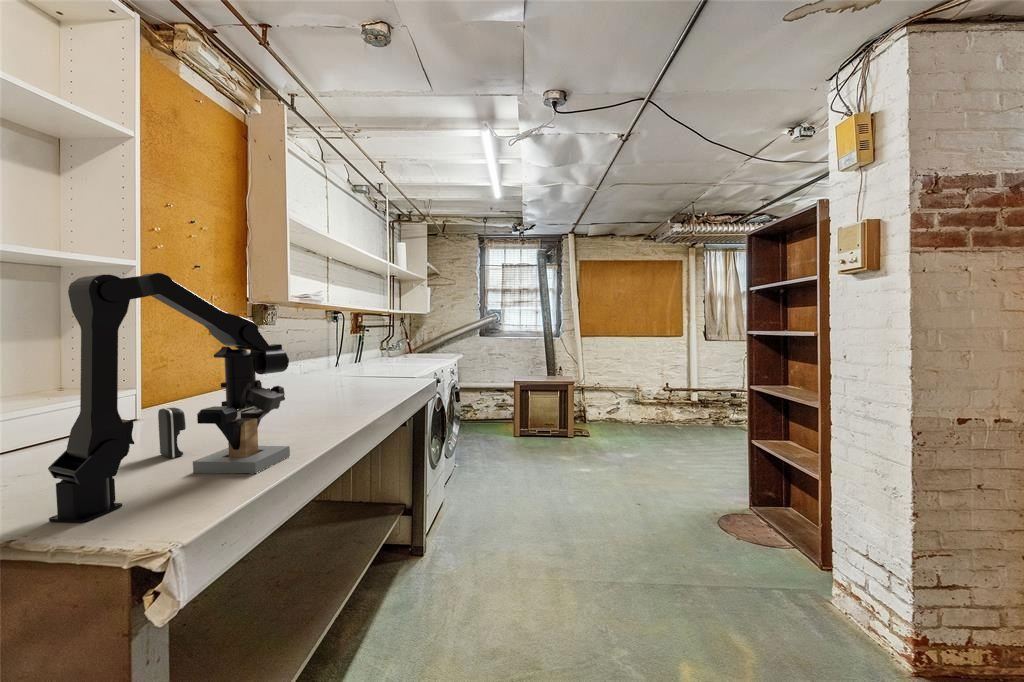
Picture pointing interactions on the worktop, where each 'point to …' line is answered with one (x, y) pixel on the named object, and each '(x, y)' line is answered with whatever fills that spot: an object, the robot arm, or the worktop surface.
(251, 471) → the socket plate
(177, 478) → the worktop surface
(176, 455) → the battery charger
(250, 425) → the wood grain block
